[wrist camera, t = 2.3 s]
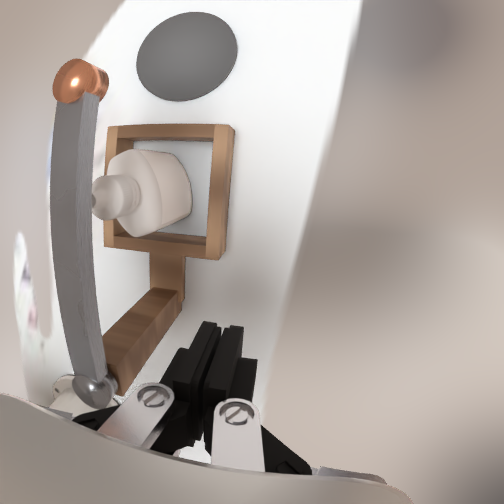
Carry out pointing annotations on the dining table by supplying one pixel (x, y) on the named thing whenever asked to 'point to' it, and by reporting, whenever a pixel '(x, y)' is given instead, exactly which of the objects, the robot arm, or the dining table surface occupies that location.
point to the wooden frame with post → (164, 248)
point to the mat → (186, 56)
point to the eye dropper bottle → (142, 191)
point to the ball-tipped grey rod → (78, 226)
